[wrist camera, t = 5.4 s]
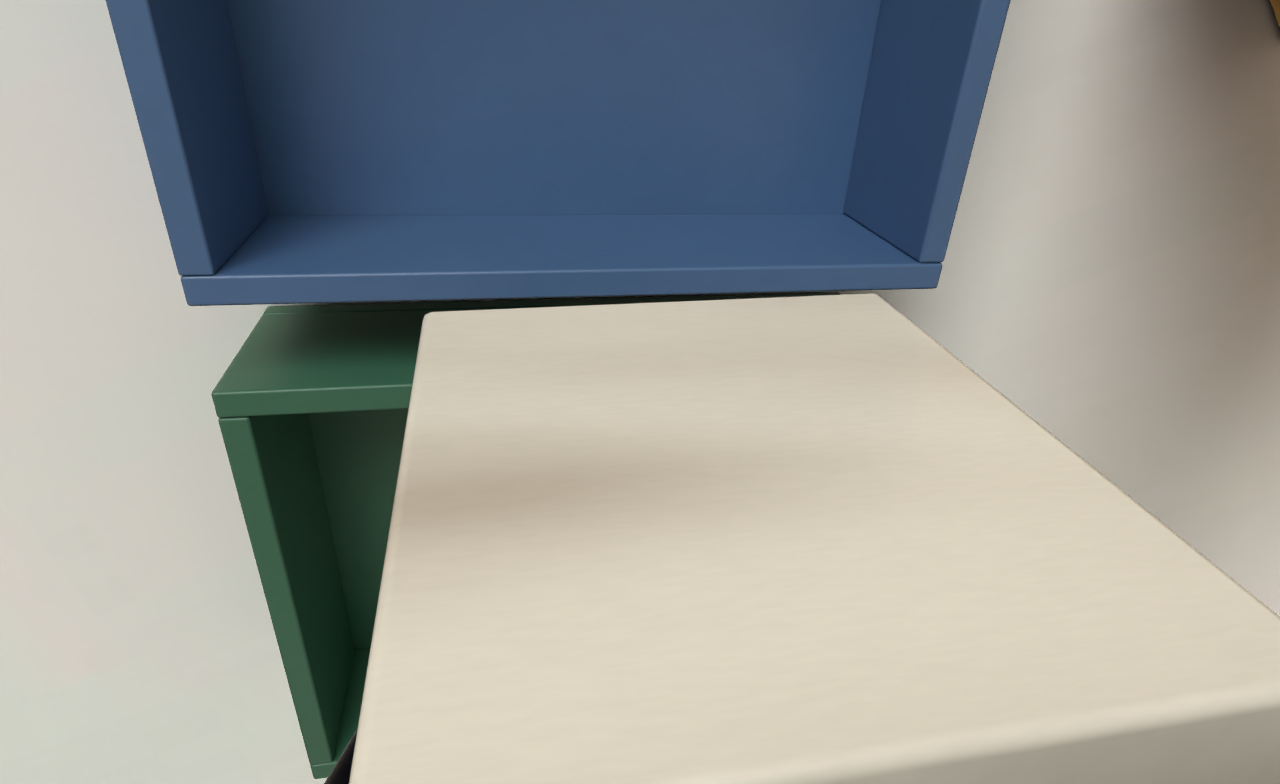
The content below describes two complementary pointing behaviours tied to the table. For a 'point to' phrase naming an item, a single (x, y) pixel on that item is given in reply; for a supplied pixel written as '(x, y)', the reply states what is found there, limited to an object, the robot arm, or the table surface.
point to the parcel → (781, 570)
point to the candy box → (1276, 9)
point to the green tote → (331, 482)
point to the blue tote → (555, 143)
